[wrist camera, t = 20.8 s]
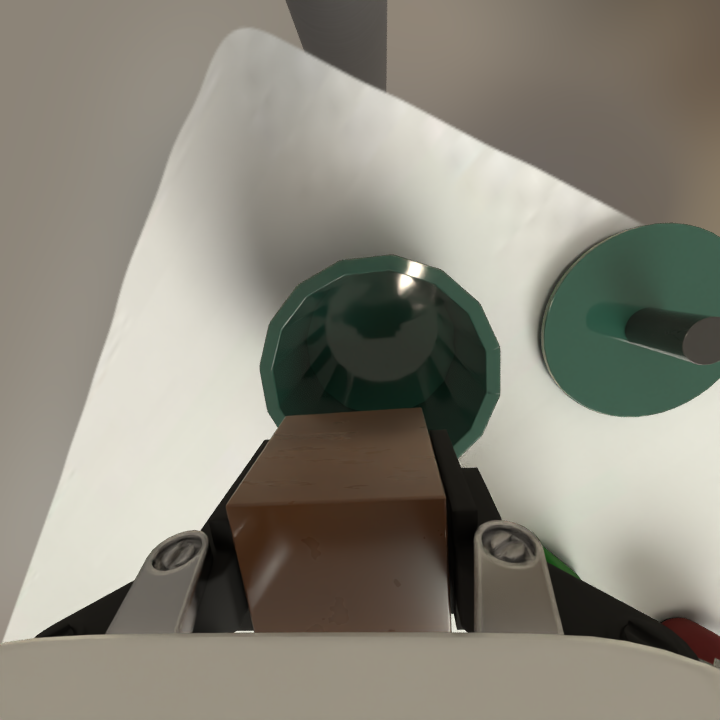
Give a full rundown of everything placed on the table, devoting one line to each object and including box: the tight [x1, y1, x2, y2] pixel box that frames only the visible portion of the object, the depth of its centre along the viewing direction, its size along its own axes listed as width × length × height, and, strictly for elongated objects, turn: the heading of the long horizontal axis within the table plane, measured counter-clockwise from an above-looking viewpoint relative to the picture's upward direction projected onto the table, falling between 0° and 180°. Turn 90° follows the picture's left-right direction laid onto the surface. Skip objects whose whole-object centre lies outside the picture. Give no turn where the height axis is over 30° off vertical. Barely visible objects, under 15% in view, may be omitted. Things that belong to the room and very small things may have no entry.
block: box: [226, 407, 452, 633], centre depth 10 cm, size 4×4×4 cm
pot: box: [260, 255, 500, 458], centre depth 24 cm, size 14×14×10 cm
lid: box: [541, 223, 720, 417], centre depth 24 cm, size 15×15×6 cm
